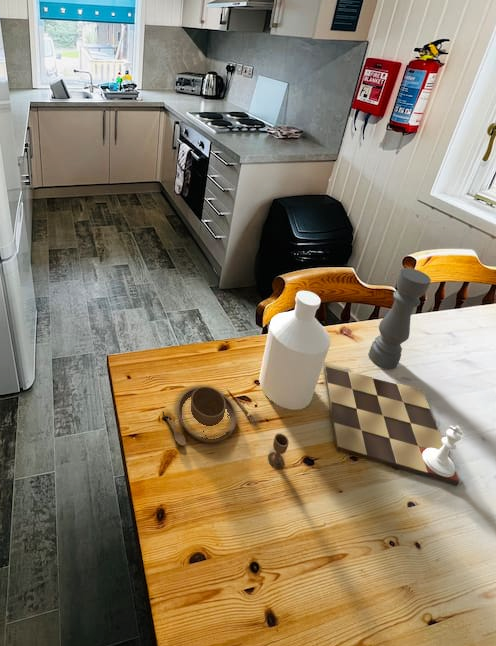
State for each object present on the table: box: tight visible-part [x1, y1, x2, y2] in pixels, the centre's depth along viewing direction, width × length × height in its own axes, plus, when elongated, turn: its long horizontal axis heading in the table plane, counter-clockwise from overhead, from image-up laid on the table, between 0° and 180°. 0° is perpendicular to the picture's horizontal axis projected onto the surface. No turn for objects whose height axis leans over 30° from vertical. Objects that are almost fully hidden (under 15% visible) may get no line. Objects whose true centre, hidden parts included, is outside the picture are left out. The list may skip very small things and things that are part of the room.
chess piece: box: [422, 425, 464, 477], centre depth 71 cm, size 5×5×10 cm
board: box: [323, 366, 460, 487], centre depth 82 cm, size 20×20×1 cm
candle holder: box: [368, 267, 432, 371], centre depth 92 cm, size 6×6×25 cm
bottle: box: [258, 290, 331, 411], centre depth 84 cm, size 12×12×25 cm
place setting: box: [165, 386, 290, 469], centre depth 77 cm, size 18×20×6 cm
